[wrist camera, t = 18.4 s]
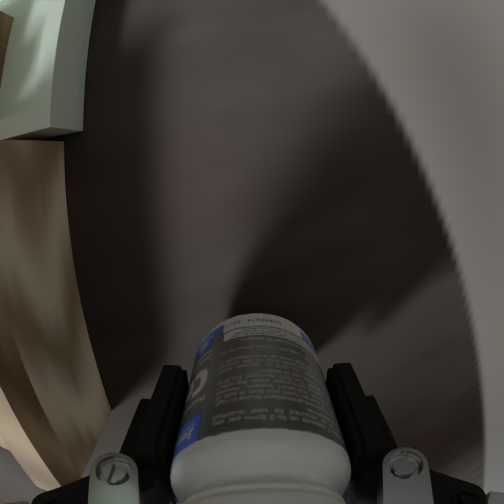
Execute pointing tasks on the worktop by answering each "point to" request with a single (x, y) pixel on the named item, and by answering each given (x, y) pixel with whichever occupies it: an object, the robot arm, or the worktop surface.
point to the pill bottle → (258, 420)
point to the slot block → (43, 323)
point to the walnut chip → (4, 38)
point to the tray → (44, 68)
